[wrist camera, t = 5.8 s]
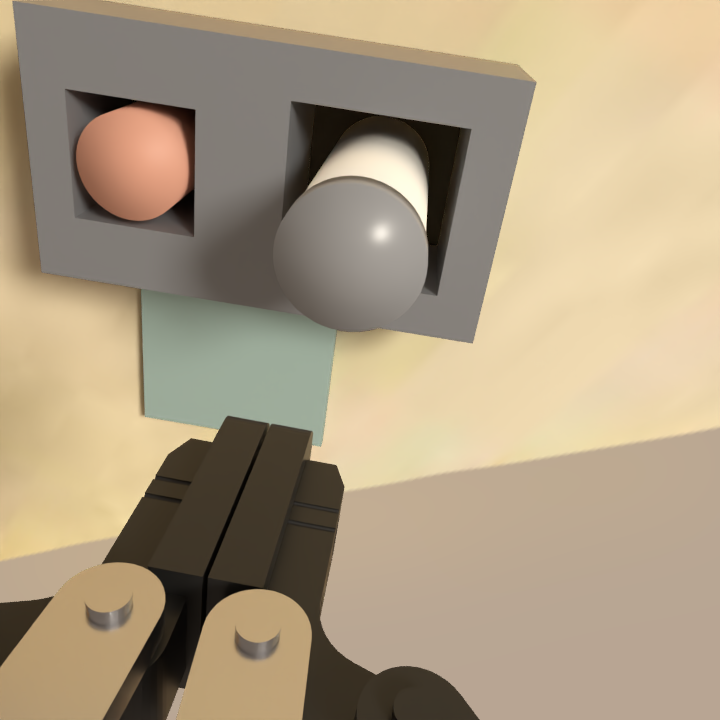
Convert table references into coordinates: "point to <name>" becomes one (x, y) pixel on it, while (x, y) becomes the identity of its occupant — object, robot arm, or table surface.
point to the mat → (234, 363)
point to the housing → (252, 147)
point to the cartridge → (359, 230)
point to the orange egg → (138, 159)
